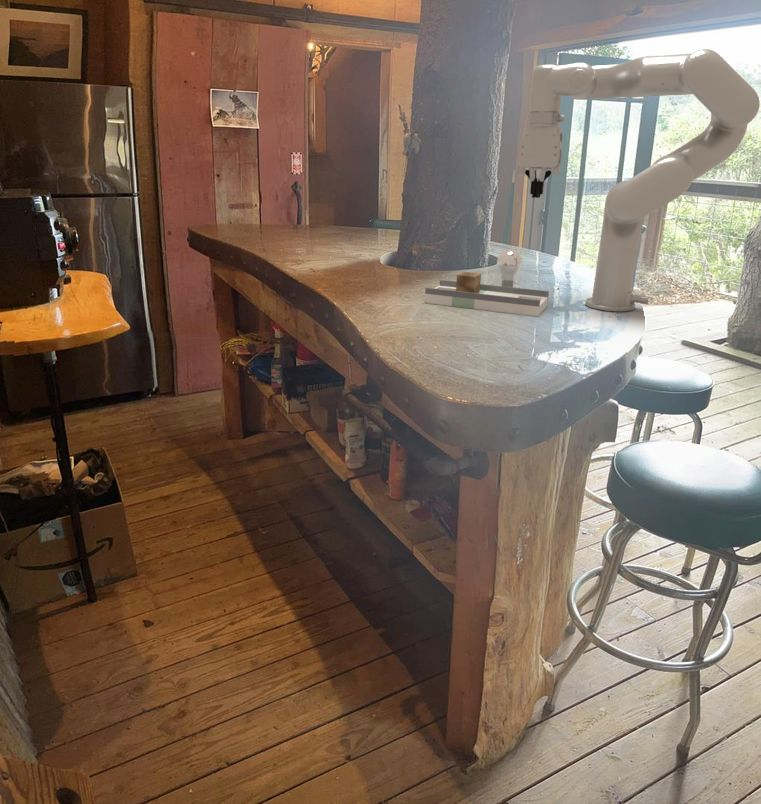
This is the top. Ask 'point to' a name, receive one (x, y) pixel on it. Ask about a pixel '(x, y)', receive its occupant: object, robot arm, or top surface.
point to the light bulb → (509, 266)
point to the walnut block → (468, 282)
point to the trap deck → (490, 298)
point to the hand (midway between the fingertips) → (536, 197)
